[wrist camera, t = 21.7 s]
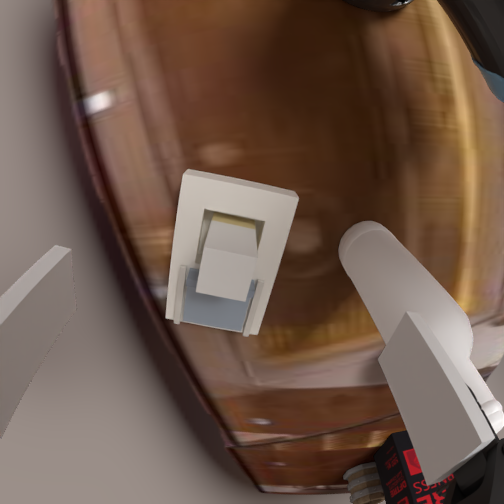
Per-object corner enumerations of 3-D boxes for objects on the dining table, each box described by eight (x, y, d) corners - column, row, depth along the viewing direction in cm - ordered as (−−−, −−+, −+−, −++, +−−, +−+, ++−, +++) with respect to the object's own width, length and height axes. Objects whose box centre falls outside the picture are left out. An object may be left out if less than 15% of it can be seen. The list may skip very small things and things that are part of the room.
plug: (214, 211, 36) (203, 246, 27) (254, 220, 37) (257, 258, 28) (206, 248, 38) (195, 291, 29) (245, 256, 39) (245, 301, 30)
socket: (188, 168, 34) (181, 175, 31) (294, 191, 36) (300, 199, 33) (169, 305, 43) (164, 321, 40) (256, 321, 44) (257, 338, 41)
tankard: (350, 465, 72) (359, 504, 59) (386, 458, 73) (396, 495, 59) (334, 485, 81) (339, 519, 67) (365, 480, 81) (373, 512, 68)
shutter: (190, 267, 37) (186, 278, 34) (254, 280, 38) (254, 291, 35) (183, 317, 40) (180, 330, 38) (241, 328, 41) (240, 341, 39)
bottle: (380, 274, 41) (486, 451, 14) (331, 270, 41) (417, 478, 14) (396, 223, 38) (546, 386, 11) (344, 215, 37) (487, 412, 10)
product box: (460, 415, 65) (495, 493, 36) (439, 439, 71) (467, 511, 43) (391, 433, 64) (421, 530, 35) (373, 455, 70) (395, 542, 41)
